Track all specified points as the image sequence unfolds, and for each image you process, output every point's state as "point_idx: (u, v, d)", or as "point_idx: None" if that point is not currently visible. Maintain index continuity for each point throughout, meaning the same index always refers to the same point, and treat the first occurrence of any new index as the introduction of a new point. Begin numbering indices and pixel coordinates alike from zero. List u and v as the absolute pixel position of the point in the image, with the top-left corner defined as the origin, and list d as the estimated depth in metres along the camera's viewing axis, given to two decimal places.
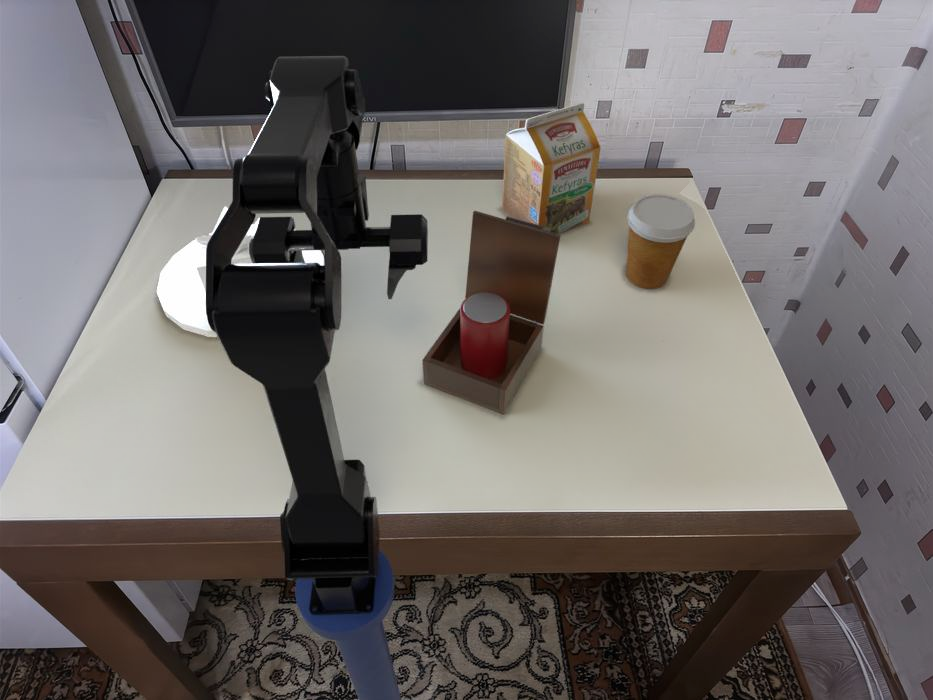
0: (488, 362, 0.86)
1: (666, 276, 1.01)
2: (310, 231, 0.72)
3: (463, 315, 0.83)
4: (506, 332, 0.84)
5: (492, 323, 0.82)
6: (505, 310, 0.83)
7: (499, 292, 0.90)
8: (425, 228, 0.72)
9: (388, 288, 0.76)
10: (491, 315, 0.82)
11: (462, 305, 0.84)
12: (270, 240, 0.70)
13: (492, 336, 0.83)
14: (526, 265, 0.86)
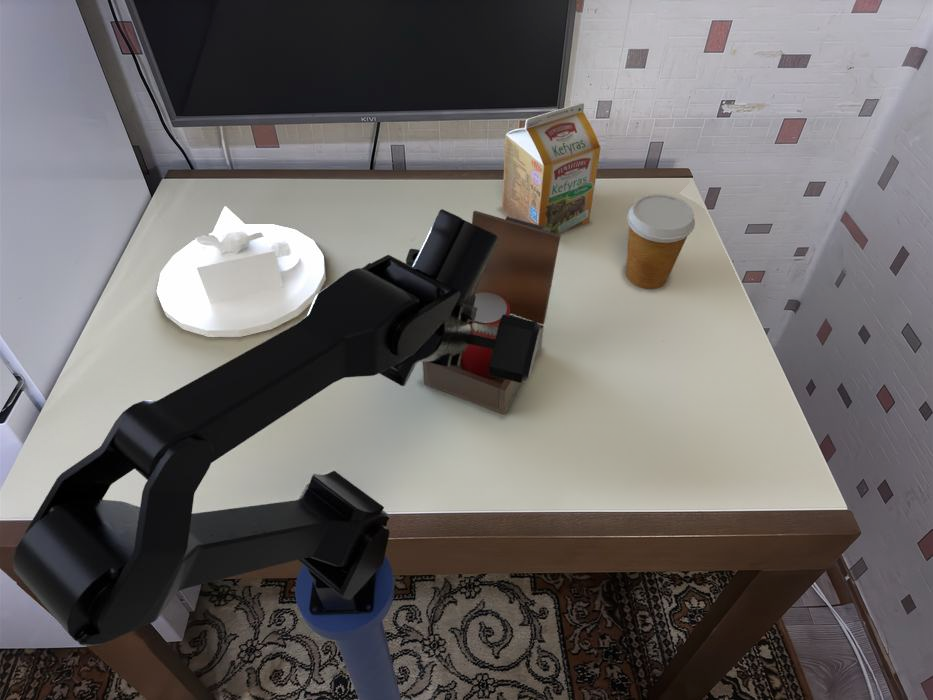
0: (488, 362, 0.86)
1: (666, 276, 1.01)
2: None
3: None
4: None
5: (492, 323, 0.82)
6: (505, 310, 0.83)
7: (499, 292, 0.90)
8: (532, 351, 0.65)
9: None
10: (491, 315, 0.82)
11: None
12: None
13: (492, 336, 0.83)
14: (526, 265, 0.86)
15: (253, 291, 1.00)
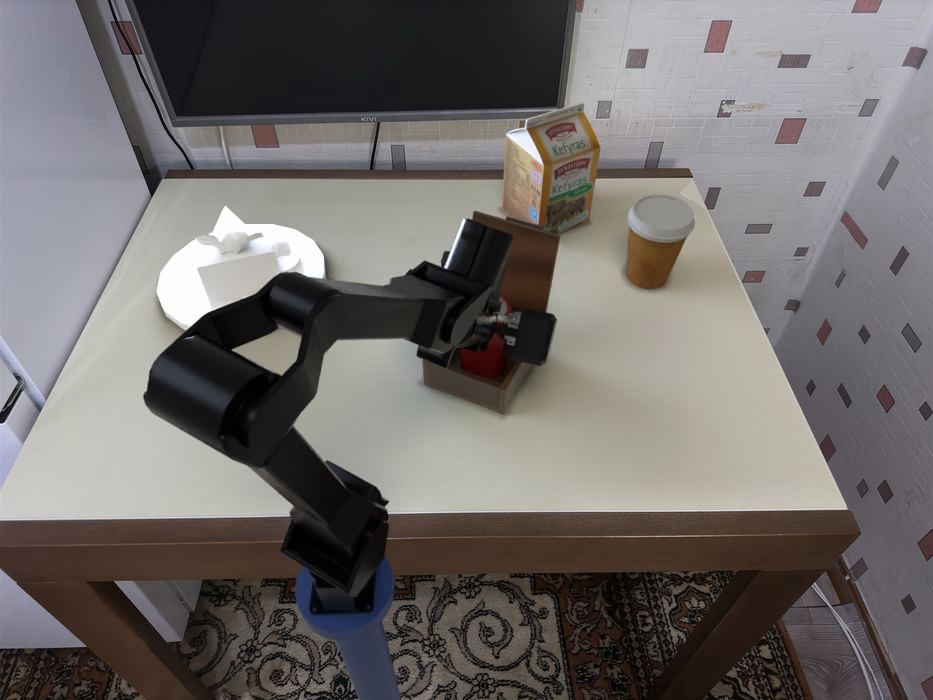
0: (488, 362, 0.86)
1: (666, 276, 1.01)
2: None
3: None
4: None
5: None
6: (505, 310, 0.83)
7: None
8: (549, 339, 0.76)
9: None
10: None
11: None
12: None
13: None
14: (526, 265, 0.86)
15: (253, 291, 1.00)
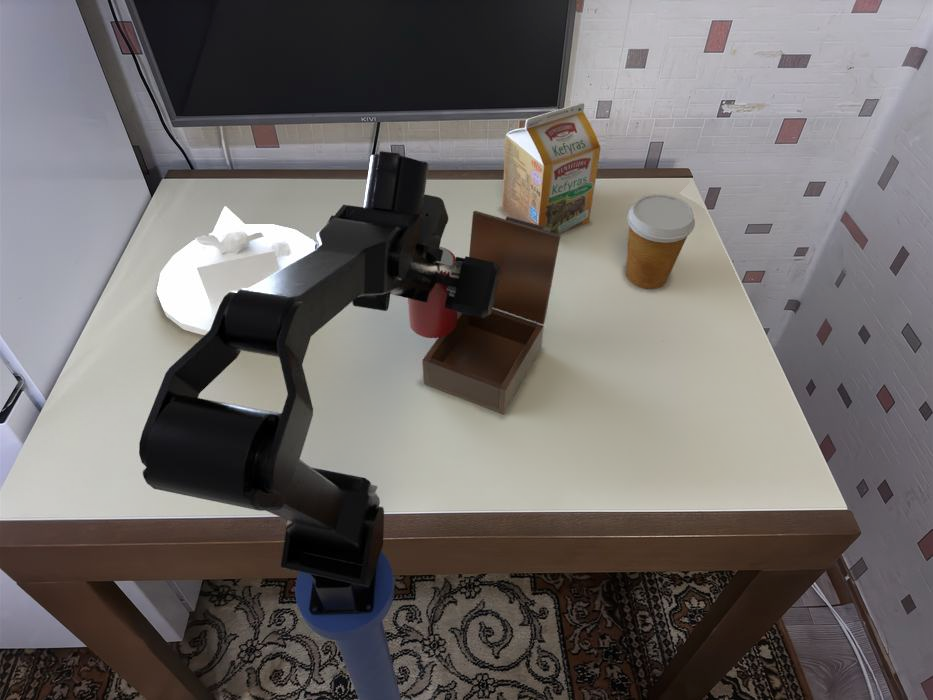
0: (435, 319, 0.83)
1: (666, 276, 1.01)
2: None
3: None
4: None
5: None
6: (450, 263, 0.80)
7: (499, 292, 0.90)
8: (491, 288, 0.73)
9: None
10: None
11: None
12: None
13: (437, 290, 0.80)
14: (526, 265, 0.86)
15: None
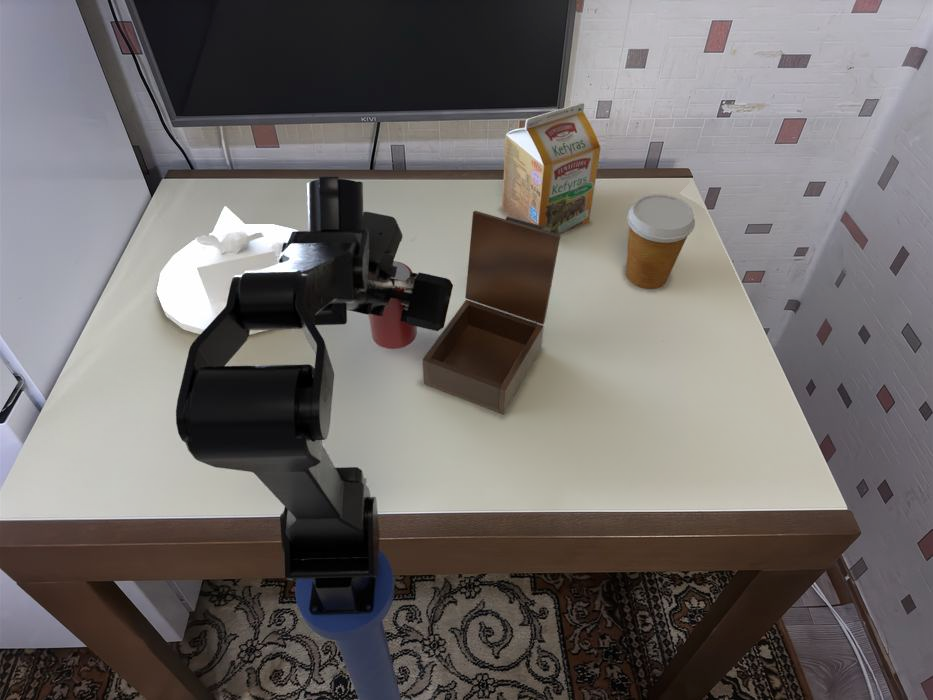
0: (394, 331, 0.87)
1: (666, 276, 1.01)
2: None
3: None
4: None
5: None
6: (407, 277, 0.84)
7: (499, 292, 0.90)
8: (442, 303, 0.77)
9: None
10: None
11: None
12: None
13: (394, 303, 0.84)
14: (526, 265, 0.86)
15: None
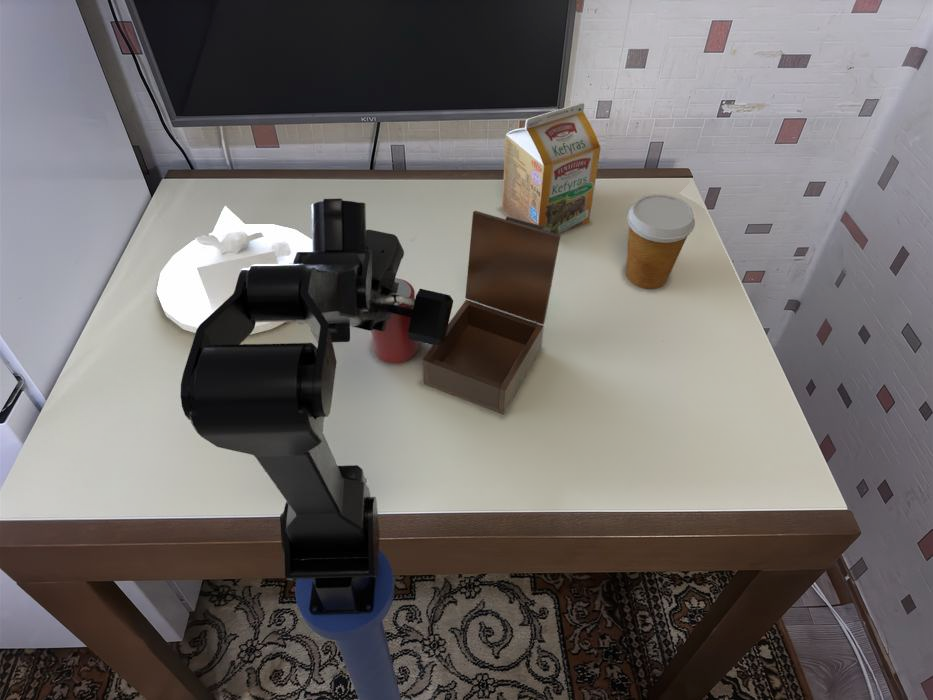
0: (396, 346, 0.89)
1: (666, 276, 1.01)
2: None
3: None
4: None
5: None
6: (409, 295, 0.86)
7: (499, 292, 0.90)
8: (443, 318, 0.79)
9: None
10: None
11: None
12: None
13: (396, 320, 0.86)
14: (526, 265, 0.86)
15: None
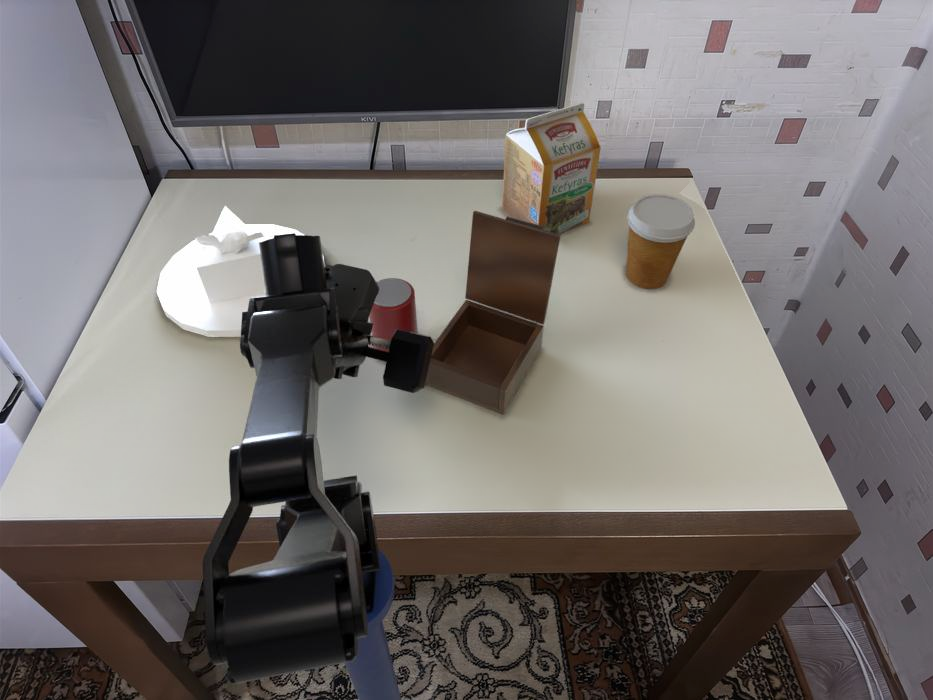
0: None
1: (666, 276, 1.01)
2: None
3: None
4: (411, 316, 0.87)
5: (395, 307, 0.85)
6: (409, 295, 0.86)
7: (499, 292, 0.90)
8: (422, 364, 0.70)
9: None
10: (395, 299, 0.85)
11: None
12: None
13: (396, 320, 0.86)
14: (526, 265, 0.86)
15: (253, 291, 1.00)
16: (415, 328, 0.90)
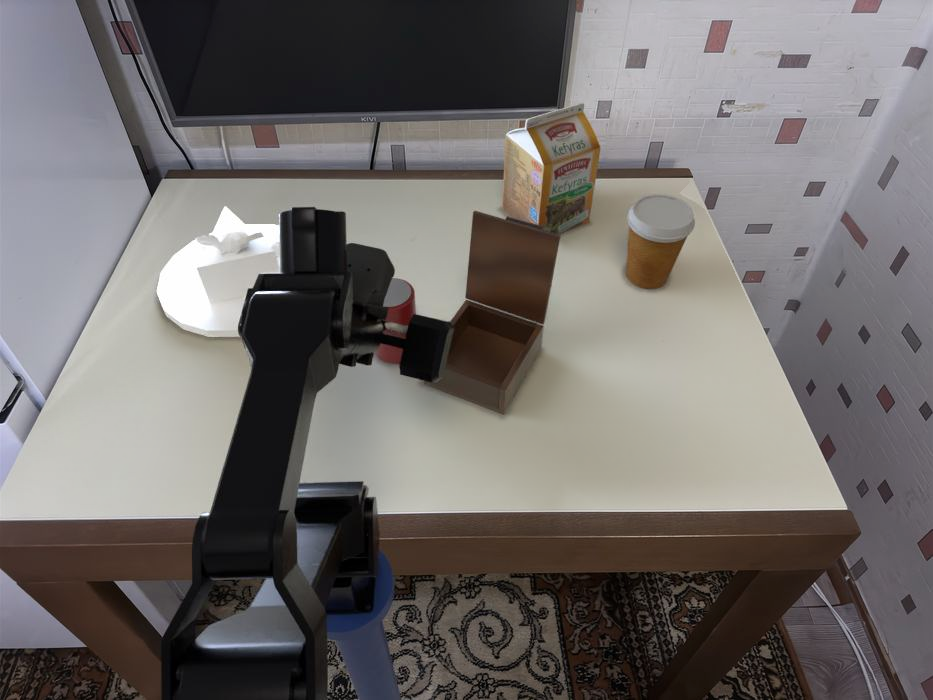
0: None
1: (666, 276, 1.01)
2: None
3: None
4: (411, 316, 0.87)
5: (395, 307, 0.85)
6: (409, 295, 0.86)
7: (499, 292, 0.90)
8: (441, 351, 0.65)
9: None
10: (395, 299, 0.85)
11: None
12: None
13: (396, 320, 0.86)
14: (526, 265, 0.86)
15: None
16: None
